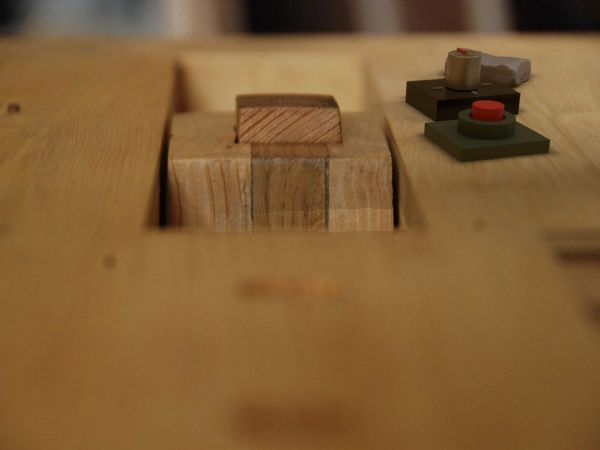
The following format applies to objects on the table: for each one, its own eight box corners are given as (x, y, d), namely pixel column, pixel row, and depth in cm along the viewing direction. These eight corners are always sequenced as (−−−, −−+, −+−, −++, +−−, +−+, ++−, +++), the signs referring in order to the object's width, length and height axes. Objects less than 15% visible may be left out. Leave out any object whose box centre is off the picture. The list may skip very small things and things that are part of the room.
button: (493, 113, 97) (494, 99, 96) (508, 122, 93) (510, 107, 93) (465, 116, 96) (466, 101, 95) (480, 124, 93) (481, 109, 92)
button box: (504, 132, 102) (507, 100, 100) (548, 157, 93) (552, 124, 92) (423, 139, 99) (425, 107, 97) (461, 167, 90) (464, 132, 89)
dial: (484, 89, 109) (487, 53, 107) (453, 91, 108) (456, 55, 106) (470, 81, 113) (473, 46, 111) (440, 83, 112) (443, 48, 110)
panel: (482, 95, 117) (484, 74, 116) (518, 115, 109) (521, 91, 107) (405, 102, 114) (406, 80, 113) (435, 122, 105) (437, 98, 104)
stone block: (464, 77, 134) (438, 77, 126) (470, 47, 132) (444, 46, 124) (533, 91, 128) (511, 92, 119) (540, 60, 126) (519, 59, 118)
